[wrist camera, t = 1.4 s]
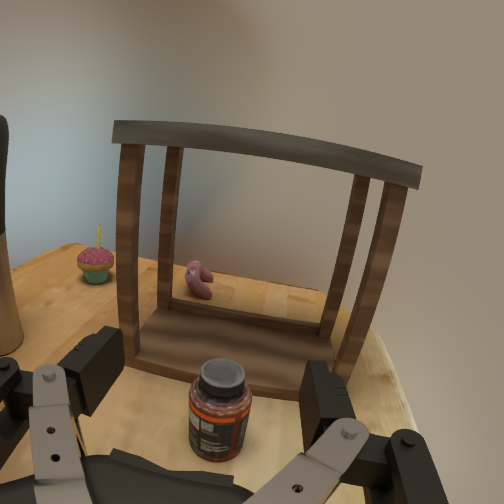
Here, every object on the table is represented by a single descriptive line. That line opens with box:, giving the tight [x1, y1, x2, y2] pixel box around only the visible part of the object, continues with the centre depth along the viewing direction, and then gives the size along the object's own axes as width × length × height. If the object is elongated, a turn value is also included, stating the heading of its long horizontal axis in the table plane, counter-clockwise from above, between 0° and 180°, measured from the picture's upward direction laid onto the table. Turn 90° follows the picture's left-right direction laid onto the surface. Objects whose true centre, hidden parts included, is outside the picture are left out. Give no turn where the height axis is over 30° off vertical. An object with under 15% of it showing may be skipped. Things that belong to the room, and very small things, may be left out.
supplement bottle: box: [189, 358, 252, 461], centre depth 27 cm, size 6×6×11 cm
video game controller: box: [185, 260, 213, 299], centre depth 64 cm, size 10×5×7 cm, turn 5°
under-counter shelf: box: [112, 120, 423, 401], centre depth 40 cm, size 17×32×32 cm, turn 85°
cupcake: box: [77, 224, 114, 284], centre depth 58 cm, size 9×8×12 cm
